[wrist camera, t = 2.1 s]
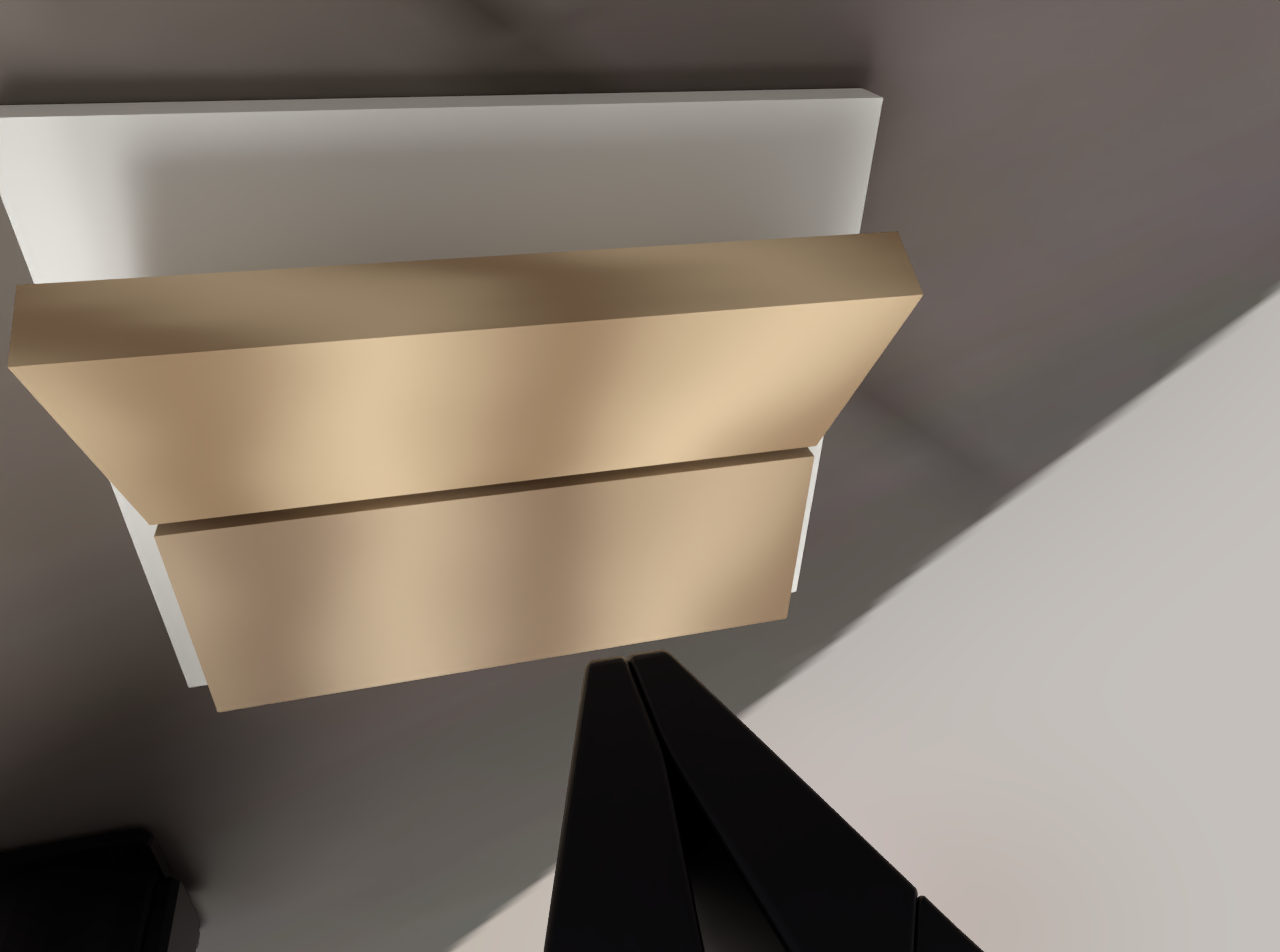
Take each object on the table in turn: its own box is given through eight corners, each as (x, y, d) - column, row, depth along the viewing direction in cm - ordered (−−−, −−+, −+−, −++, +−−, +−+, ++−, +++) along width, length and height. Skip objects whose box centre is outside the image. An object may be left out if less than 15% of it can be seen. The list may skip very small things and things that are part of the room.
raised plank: (151, 461, 19) (149, 525, 18) (15, 285, 13) (7, 367, 13) (799, 393, 22) (816, 445, 21) (897, 231, 17) (923, 294, 16)
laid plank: (225, 667, 23) (217, 712, 21) (166, 495, 19) (153, 536, 18) (767, 583, 26) (786, 618, 25) (791, 425, 23) (814, 456, 22)
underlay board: (194, 659, 23) (188, 687, 23) (-9, 106, 16) (-30, 118, 15) (783, 570, 27) (796, 591, 26) (861, 88, 19) (883, 97, 18)
